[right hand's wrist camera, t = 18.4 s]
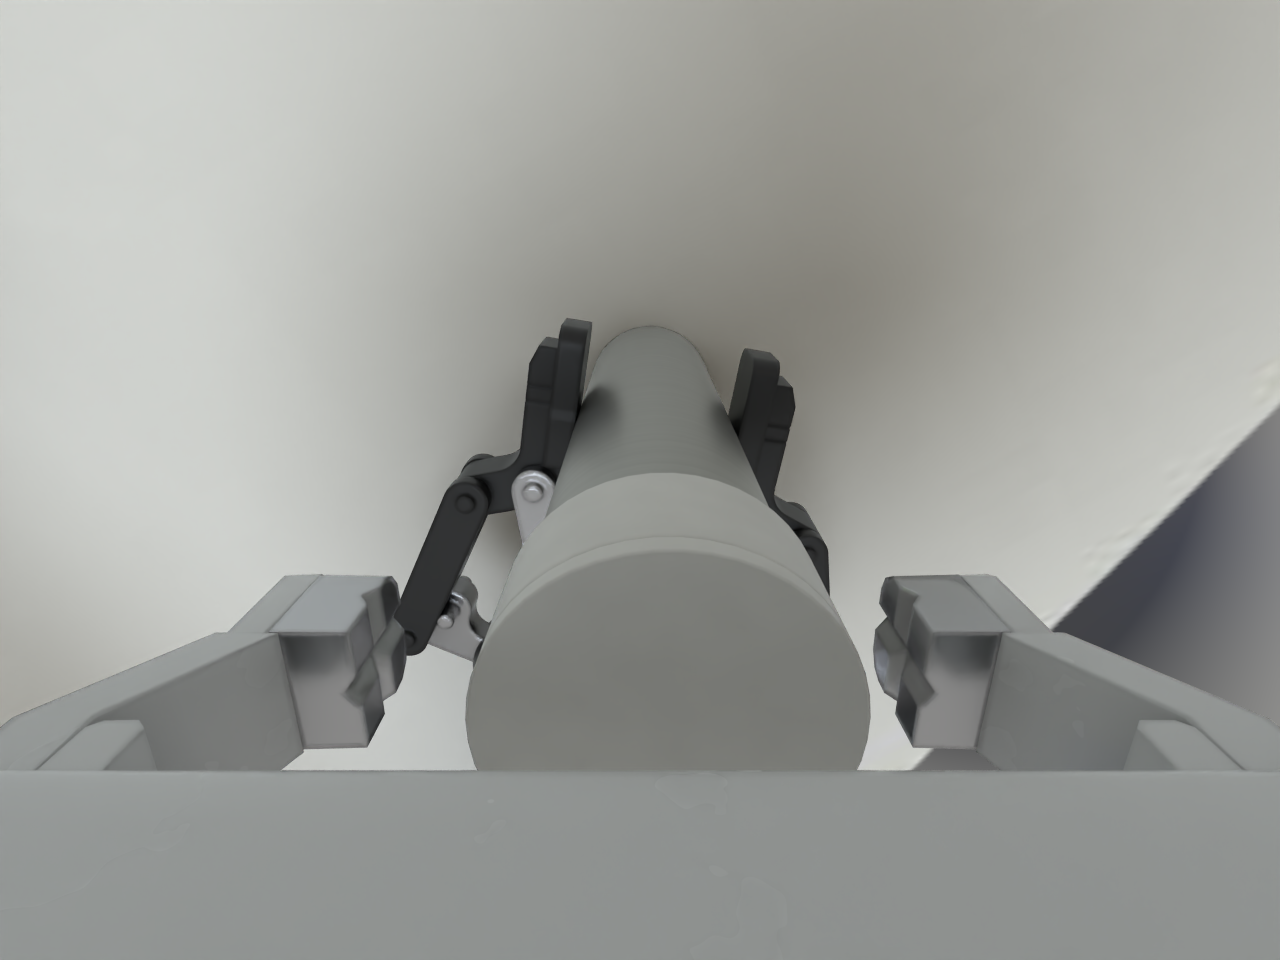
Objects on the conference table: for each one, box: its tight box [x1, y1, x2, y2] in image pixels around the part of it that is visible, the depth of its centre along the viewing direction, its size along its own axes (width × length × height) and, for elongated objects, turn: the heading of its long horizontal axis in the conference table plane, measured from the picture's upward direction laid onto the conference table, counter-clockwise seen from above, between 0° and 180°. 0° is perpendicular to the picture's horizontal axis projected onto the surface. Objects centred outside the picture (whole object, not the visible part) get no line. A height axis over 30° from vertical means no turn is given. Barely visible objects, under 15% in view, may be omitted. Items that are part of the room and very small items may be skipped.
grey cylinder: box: [545, 326, 769, 518], centre depth 17 cm, size 4×4×18 cm
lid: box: [465, 473, 870, 770], centre depth 9 cm, size 5×5×2 cm
